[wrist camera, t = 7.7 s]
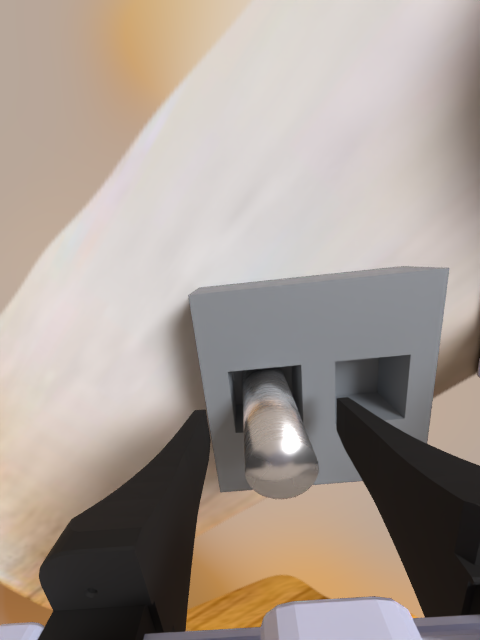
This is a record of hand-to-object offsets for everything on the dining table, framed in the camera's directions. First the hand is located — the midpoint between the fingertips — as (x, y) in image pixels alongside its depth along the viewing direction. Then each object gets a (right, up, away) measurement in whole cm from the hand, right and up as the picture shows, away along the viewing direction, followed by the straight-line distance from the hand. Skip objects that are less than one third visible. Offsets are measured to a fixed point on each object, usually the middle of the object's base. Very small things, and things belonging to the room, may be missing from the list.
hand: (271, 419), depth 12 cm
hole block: (+3, +2, +5) cm, 6 cm away
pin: (0, +1, +5) cm, 5 cm away
